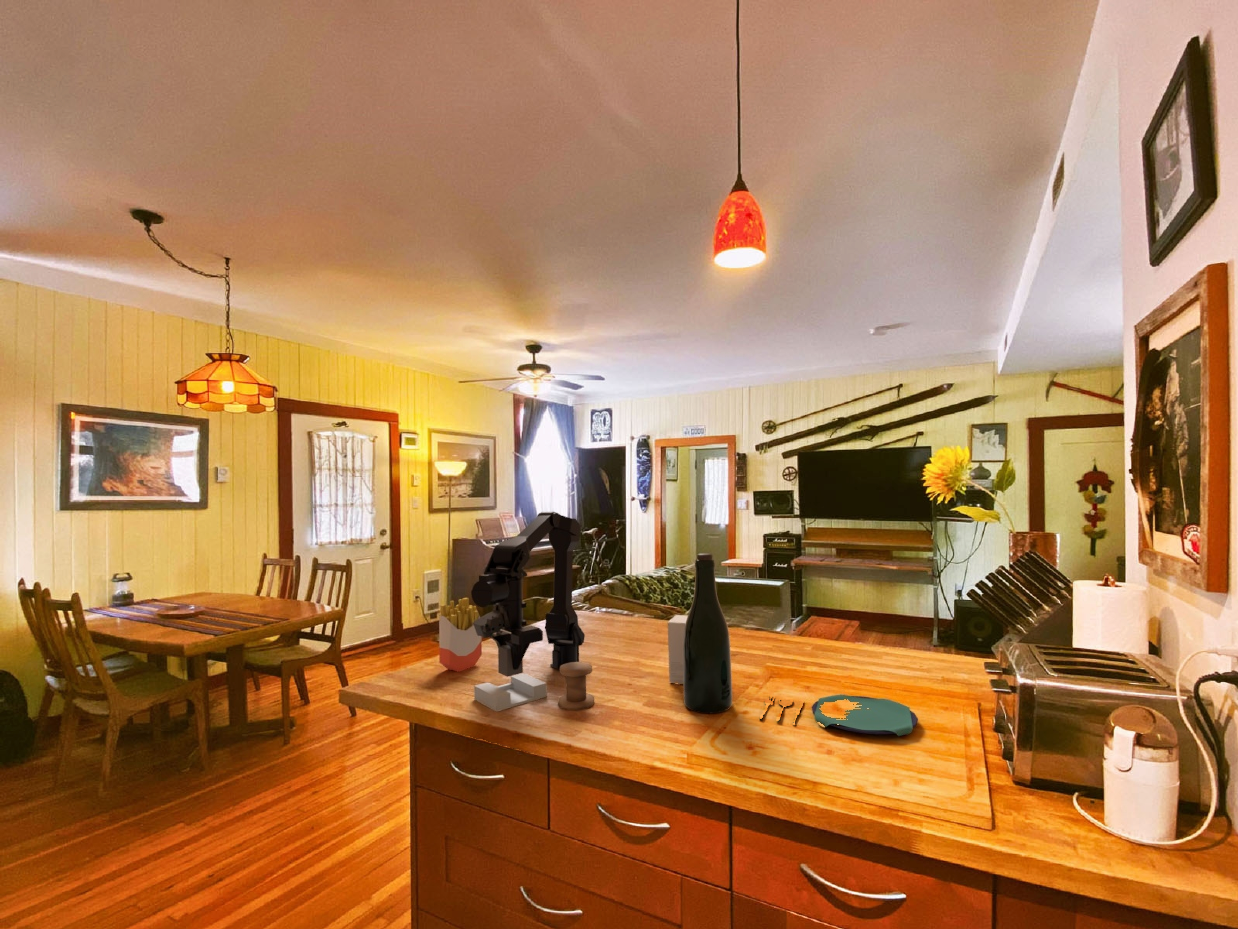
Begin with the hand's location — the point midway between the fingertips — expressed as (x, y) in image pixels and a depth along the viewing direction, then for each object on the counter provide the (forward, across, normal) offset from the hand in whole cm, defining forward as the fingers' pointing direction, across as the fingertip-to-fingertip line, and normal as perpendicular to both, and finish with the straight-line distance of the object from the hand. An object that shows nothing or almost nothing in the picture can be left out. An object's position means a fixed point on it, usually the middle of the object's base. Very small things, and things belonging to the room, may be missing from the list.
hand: (510, 667), depth 133 cm
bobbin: (+7, +13, +9) cm, 17 cm away
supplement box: (+7, +20, +39) cm, 44 cm away
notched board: (+7, 0, 0) cm, 7 cm away
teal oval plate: (+8, +56, +44) cm, 71 cm away
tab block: (+1, 0, 0) cm, 1 cm away
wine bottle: (+7, +34, +29) cm, 45 cm away
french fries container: (+7, -29, +2) cm, 30 cm away
